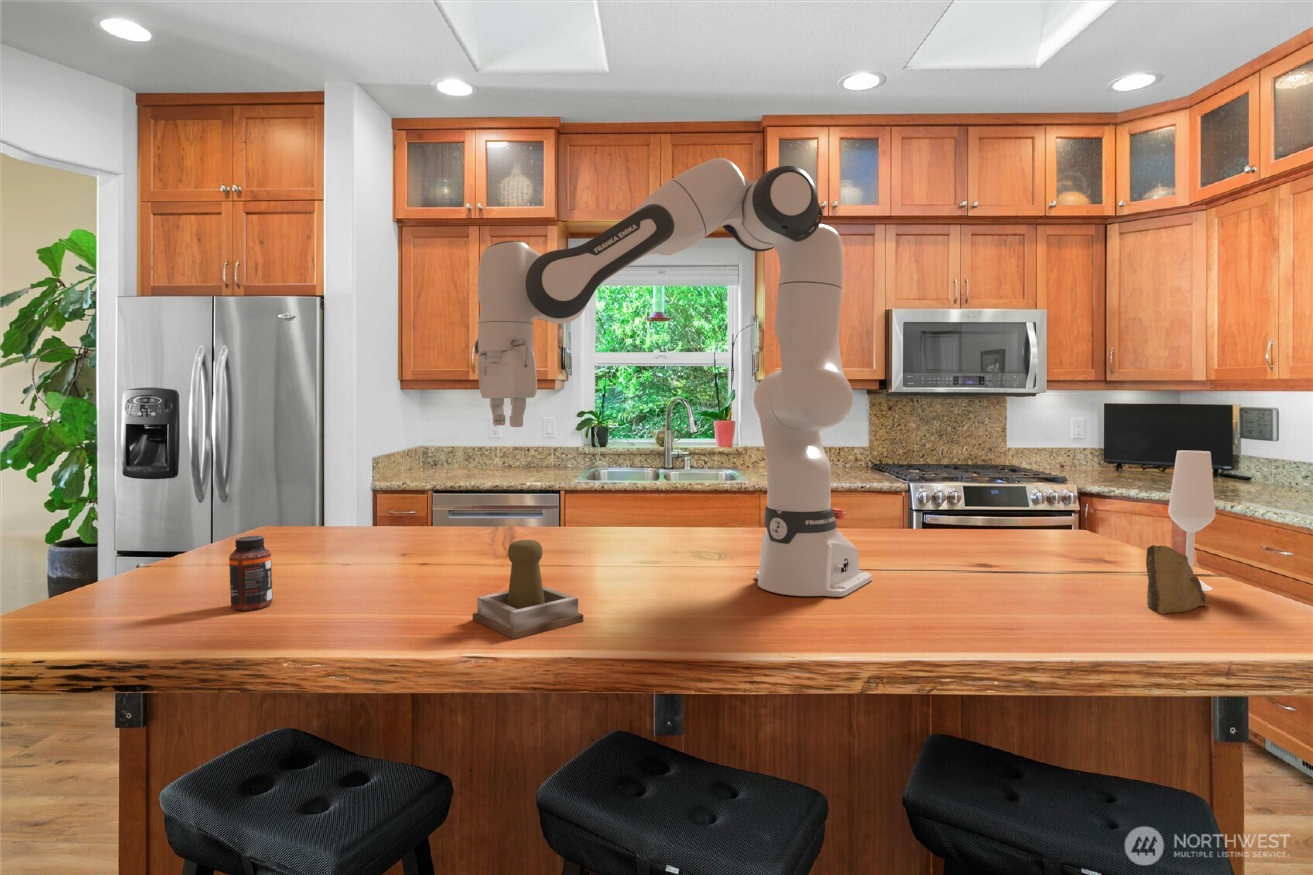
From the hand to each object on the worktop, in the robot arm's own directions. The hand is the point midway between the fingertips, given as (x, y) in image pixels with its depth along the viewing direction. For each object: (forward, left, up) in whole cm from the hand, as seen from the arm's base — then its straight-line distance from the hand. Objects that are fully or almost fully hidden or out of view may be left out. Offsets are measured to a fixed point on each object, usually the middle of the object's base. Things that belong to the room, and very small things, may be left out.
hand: (507, 426), depth 117 cm
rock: (-76, +77, -29) cm, 112 cm away
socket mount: (+4, +12, -29) cm, 32 cm away
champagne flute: (-93, +75, -29) cm, 123 cm away
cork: (+4, +11, -28) cm, 31 cm away
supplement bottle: (+33, -25, -29) cm, 51 cm away
